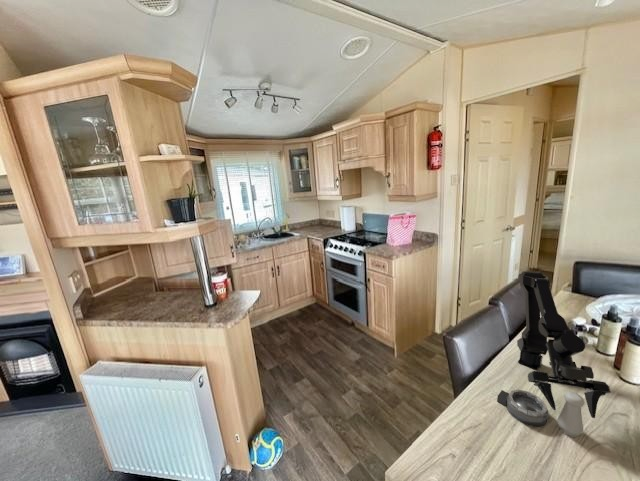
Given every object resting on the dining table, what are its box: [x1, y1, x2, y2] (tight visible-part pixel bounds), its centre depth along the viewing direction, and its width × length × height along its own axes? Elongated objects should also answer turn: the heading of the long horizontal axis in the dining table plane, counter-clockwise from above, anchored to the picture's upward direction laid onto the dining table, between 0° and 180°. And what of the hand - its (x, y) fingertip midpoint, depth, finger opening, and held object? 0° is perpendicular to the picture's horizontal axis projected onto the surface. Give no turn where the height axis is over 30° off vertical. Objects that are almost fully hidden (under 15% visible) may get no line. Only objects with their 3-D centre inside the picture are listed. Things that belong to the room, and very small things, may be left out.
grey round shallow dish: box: [496, 389, 549, 428], centre depth 90 cm, size 13×11×4 cm
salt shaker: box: [556, 391, 585, 438], centre depth 81 cm, size 6×6×13 cm
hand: (573, 413), depth 80 cm, fingers open, 9 cm apart
